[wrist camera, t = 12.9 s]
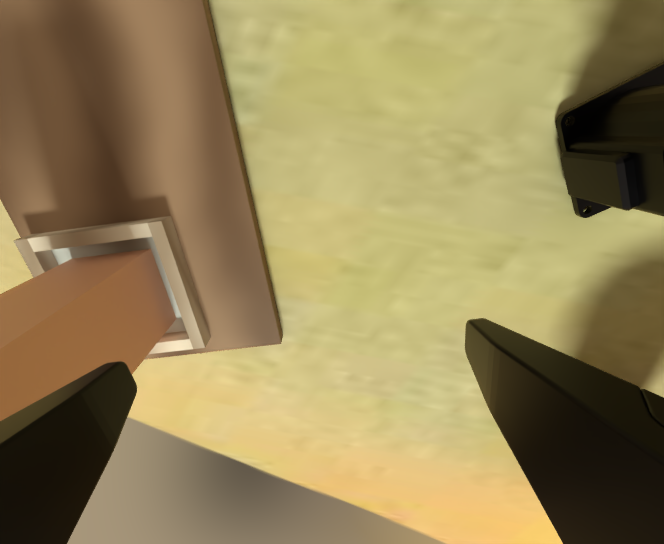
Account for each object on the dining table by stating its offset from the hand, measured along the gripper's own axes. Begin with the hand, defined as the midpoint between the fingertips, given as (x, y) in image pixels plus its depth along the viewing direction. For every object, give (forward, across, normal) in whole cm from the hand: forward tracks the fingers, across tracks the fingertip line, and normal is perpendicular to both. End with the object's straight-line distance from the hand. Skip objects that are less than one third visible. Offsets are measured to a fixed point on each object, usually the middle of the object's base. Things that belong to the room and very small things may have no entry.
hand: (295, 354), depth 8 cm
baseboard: (+13, +10, -3) cm, 17 cm away
